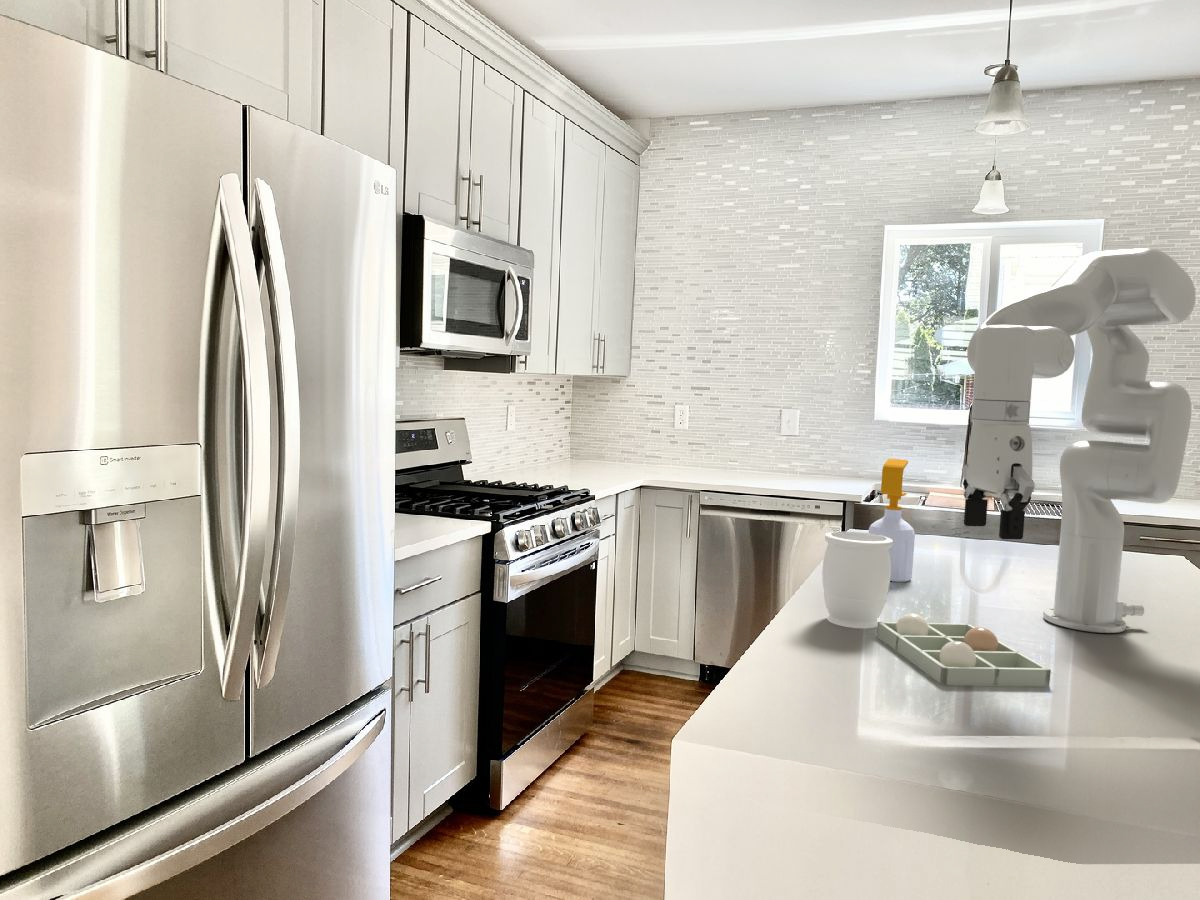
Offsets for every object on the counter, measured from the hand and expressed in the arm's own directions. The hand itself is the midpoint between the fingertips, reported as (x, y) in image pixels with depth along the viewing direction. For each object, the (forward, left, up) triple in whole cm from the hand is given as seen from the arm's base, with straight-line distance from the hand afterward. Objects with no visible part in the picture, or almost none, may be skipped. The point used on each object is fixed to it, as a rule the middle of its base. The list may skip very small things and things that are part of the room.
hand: (992, 532), depth 128 cm
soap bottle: (-9, -55, -19) cm, 59 cm away
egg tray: (+5, +2, -19) cm, 20 cm away
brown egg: (+2, +2, -18) cm, 18 cm away
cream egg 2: (+9, +9, -18) cm, 22 cm away
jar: (+13, -17, -19) cm, 29 cm away
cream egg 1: (+9, -5, -18) cm, 21 cm away
